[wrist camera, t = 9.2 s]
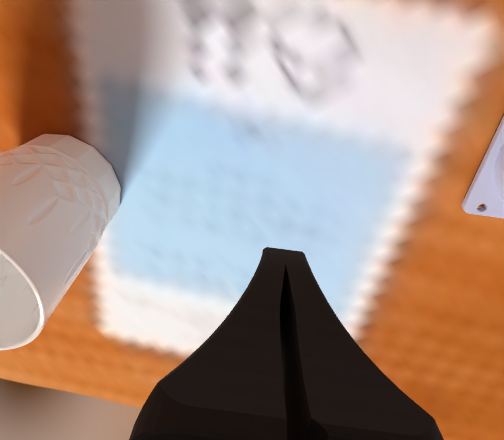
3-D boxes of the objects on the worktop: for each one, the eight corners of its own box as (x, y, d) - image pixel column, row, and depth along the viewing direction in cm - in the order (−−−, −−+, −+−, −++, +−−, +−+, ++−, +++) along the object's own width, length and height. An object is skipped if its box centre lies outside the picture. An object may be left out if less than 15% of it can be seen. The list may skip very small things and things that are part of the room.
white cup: (63, 245, 27) (-40, 363, 19) (-17, 150, 24) (-189, 244, 15) (153, 212, 25) (80, 331, 16) (80, 101, 21) (-61, 181, 13)
